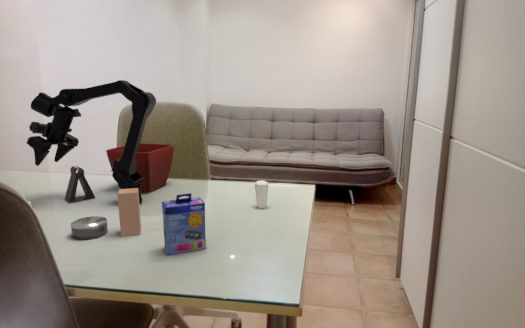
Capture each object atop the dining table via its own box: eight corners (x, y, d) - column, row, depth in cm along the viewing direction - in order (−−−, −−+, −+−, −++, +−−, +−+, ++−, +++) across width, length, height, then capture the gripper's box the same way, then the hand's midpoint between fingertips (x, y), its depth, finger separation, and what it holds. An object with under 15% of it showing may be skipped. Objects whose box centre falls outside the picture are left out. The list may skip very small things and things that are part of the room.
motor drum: (109, 226, 110) (108, 215, 109) (105, 238, 102) (104, 225, 101) (76, 229, 108) (74, 217, 107) (68, 241, 99) (67, 229, 99)
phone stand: (69, 203, 133) (65, 170, 131) (64, 199, 138) (60, 167, 136) (95, 198, 139) (92, 166, 137) (90, 195, 144) (87, 164, 141)
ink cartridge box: (167, 256, 90) (163, 197, 87) (163, 247, 95) (159, 191, 92) (207, 248, 94) (205, 192, 91) (201, 241, 99) (199, 187, 96)
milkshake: (269, 209, 124) (269, 180, 122) (253, 208, 125) (253, 179, 123) (272, 205, 128) (271, 177, 127) (256, 204, 130) (256, 176, 128)
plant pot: (150, 196, 142) (147, 151, 138) (108, 192, 147) (104, 149, 144) (177, 184, 159) (175, 144, 156) (138, 181, 165) (135, 143, 162)
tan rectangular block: (141, 228, 109) (138, 187, 106) (140, 234, 104) (137, 192, 101) (122, 230, 107) (119, 189, 105) (121, 236, 103) (117, 193, 100)
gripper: (60, 112, 139) (46, 150, 142) (20, 112, 121) (5, 156, 124) (85, 126, 138) (71, 163, 141) (49, 128, 120) (33, 171, 123)
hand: (46, 163), depth 132 cm, fingers open, 9 cm apart
